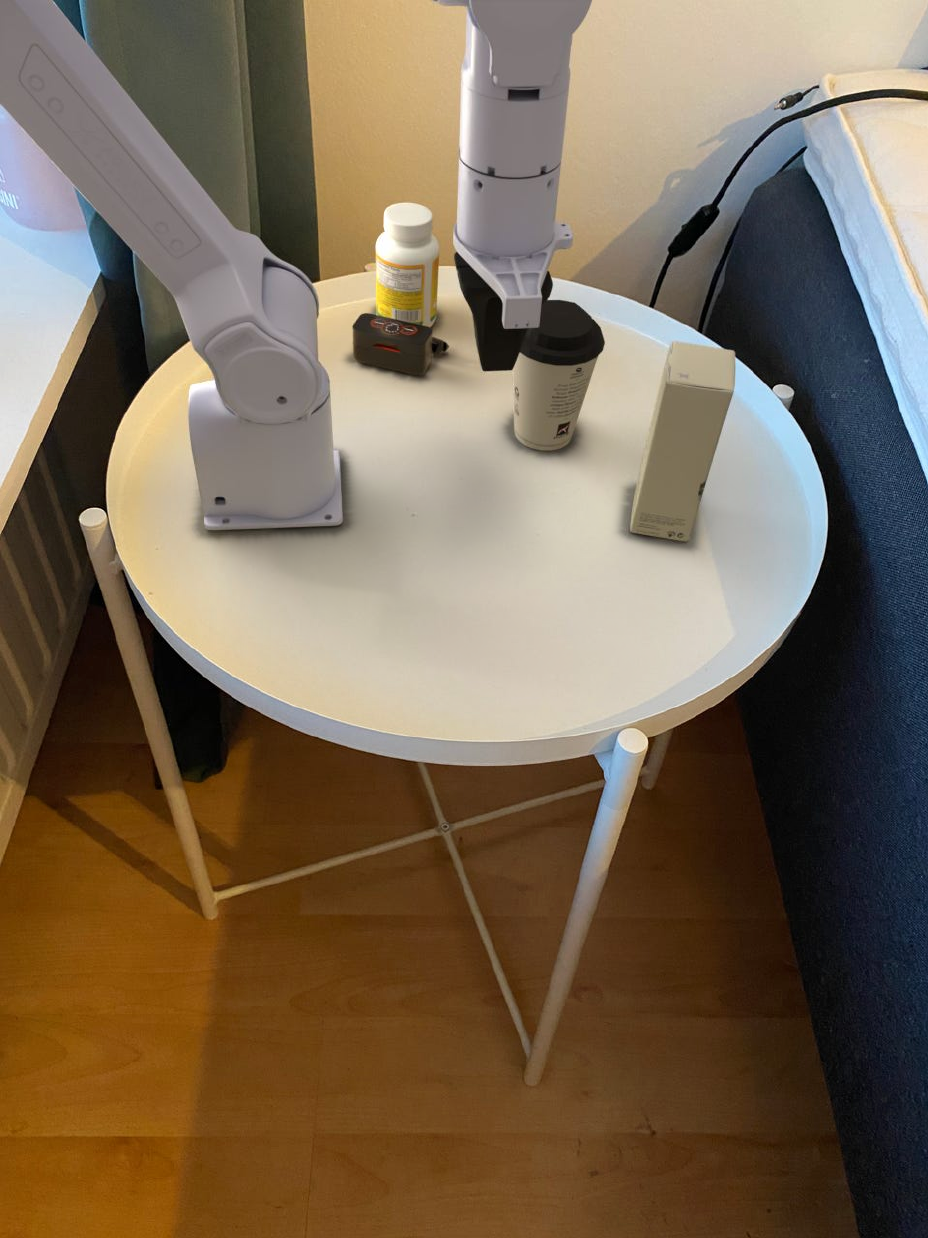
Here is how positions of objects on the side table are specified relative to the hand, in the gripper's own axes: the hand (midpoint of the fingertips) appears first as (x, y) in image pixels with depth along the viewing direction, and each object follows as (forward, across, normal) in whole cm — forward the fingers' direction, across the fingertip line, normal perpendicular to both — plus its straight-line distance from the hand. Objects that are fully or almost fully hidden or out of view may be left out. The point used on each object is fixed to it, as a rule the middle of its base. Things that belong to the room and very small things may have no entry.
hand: (496, 364), depth 64 cm
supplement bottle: (+10, +22, +4) cm, 25 cm away
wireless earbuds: (+10, +16, +5) cm, 20 cm away
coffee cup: (+11, +6, -5) cm, 13 cm away
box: (+11, -4, -12) cm, 17 cm away
